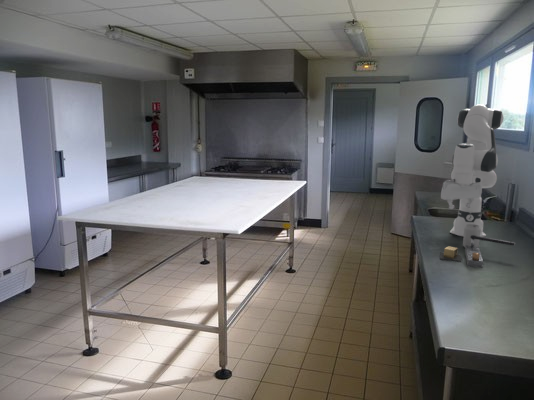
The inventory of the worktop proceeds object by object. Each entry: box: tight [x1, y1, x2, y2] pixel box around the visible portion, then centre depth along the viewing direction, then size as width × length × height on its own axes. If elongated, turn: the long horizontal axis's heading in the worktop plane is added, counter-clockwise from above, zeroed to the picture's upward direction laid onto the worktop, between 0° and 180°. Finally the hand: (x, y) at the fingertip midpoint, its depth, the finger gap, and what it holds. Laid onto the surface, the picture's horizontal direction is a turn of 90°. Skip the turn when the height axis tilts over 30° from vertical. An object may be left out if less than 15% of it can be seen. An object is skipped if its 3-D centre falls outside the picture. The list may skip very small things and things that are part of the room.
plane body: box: [464, 239, 484, 269], centre depth 197 cm, size 24×6×7 cm, turn 158°
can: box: [462, 224, 481, 248], centre depth 215 cm, size 8×8×12 cm
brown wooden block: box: [443, 245, 459, 259], centre depth 200 cm, size 6×4×4 cm
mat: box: [439, 252, 462, 263], centre depth 200 cm, size 10×9×1 cm
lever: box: [470, 235, 516, 246], centre depth 201 cm, size 19×2×1 cm, turn 49°
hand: (459, 208), depth 196 cm, fingers open, 8 cm apart
